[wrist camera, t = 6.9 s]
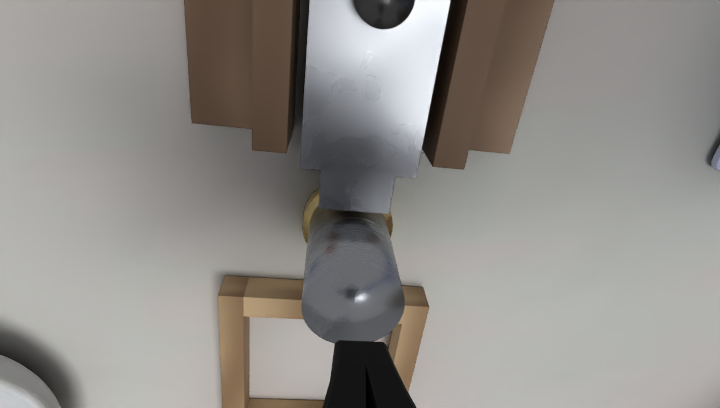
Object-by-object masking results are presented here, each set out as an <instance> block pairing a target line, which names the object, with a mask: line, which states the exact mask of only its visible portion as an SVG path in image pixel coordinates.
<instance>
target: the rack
mask: <svg viewBox="0 0 720 408" xmlns="http://www.w3.org/2000/svg"><path fill="white" fill-rule="evenodd" d="M303 283H304V280H292V279H275V278H258V277H241V276H225V278H224V281H223V284H222V286H221V289H220V292H219V294H218V311H219V335H220V359H221V383H222V407H223V408H322V407H323V404H324V401H319V400H282V399H249V317H267V318H288V319H304V318H303V315H302V310H301V303H302V293H303ZM402 289H403V293H404V297H405V309H404V313H403V315H402V318H401V320H400V321H399V323H398V324H397V325H396V327H395V328H394V329H393V330H392V334H391V339H390V344H389V349H388V351H389V353H390V355H391V358H392V360H393V362H394V365H395V367H396V369H397V371H398V373H399V375H400V377H401V379H402V381H403V383H404V385H405V387H406V389H407V391H409V387H410V383H411V379H412V375H413V371H414V367H415V363H416V359H417V355H418V351H419V346H420V342H421V338H422V334H423V330H424V326H425V322H426V318H427V314H428V310H429V305H428V302H427V298H426V295H425V292H424V289H423V287H411V286H402Z"/></svg>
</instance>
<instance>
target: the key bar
mask: <svg viewBox="0 0 720 408" xmlns="http://www.w3.org/2000/svg"><path fill="white" fill-rule="evenodd" d="M449 6H450V0H310V3H309V20H308V37H307V54H306V71H305V88H304V105H303V122H302V139H301V156H300V169H312V170H321V174H320V188H319V204H318V208H319V209H332V210H345V211H358V212H371V213H384V214H389V211H390V205H391V199H392V193H393V187H394V181H395V177H403V178H414V179H416V175H417V170H418V165H419V160H420V155H421V149H422V144H423V139H424V134H425V129H426V124H427V119H428V114H429V108H430V103H431V98H432V93H433V88H434V83H435V78H436V72H437V67H438V62H439V57H440V52H441V47H442V42H443V36H444V31H445V26H446V21H447V16H448V11H449Z"/></svg>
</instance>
